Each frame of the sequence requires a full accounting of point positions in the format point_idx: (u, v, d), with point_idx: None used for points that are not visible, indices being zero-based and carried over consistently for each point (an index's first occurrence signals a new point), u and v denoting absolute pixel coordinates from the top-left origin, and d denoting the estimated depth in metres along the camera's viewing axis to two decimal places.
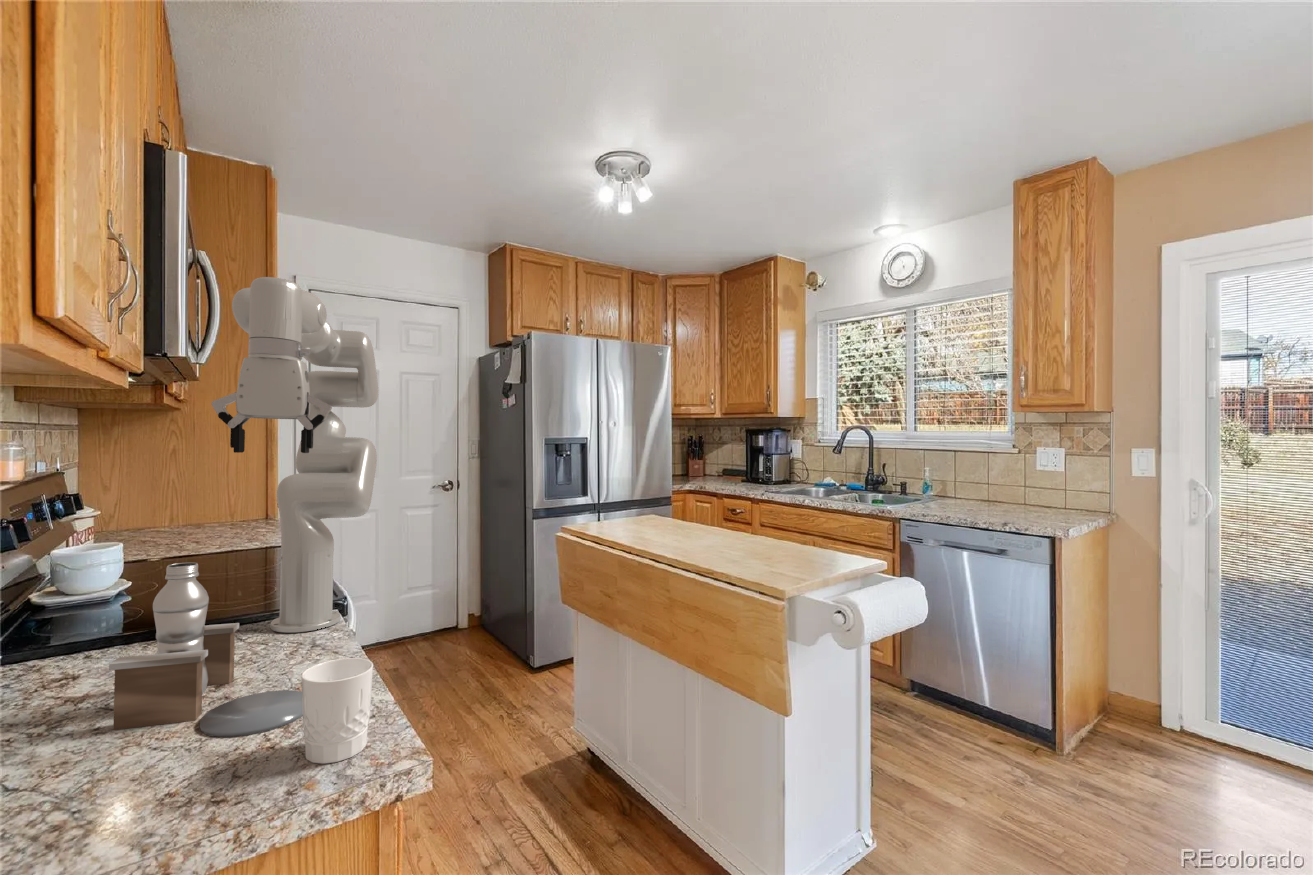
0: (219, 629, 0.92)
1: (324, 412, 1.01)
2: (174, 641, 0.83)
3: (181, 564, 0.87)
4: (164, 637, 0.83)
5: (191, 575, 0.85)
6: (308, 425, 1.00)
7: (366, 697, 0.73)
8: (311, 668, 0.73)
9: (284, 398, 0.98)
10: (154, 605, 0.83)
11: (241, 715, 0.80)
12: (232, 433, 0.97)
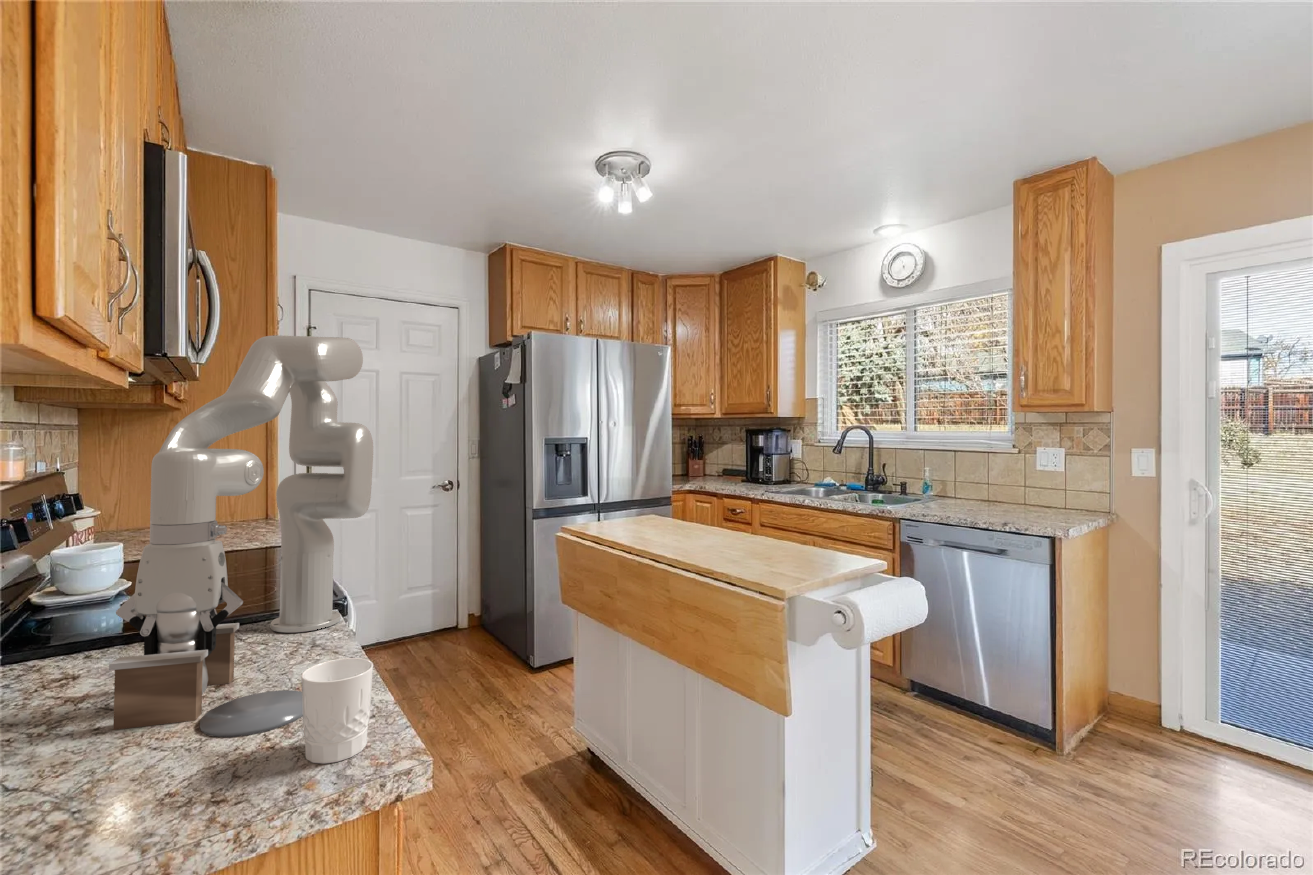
0: (219, 629, 0.92)
1: (230, 609, 0.87)
2: (175, 641, 0.83)
3: None
4: (165, 637, 0.83)
5: None
6: (208, 626, 0.86)
7: (366, 697, 0.73)
8: (311, 668, 0.73)
9: (192, 591, 0.84)
10: None
11: (241, 715, 0.80)
12: (146, 641, 0.84)
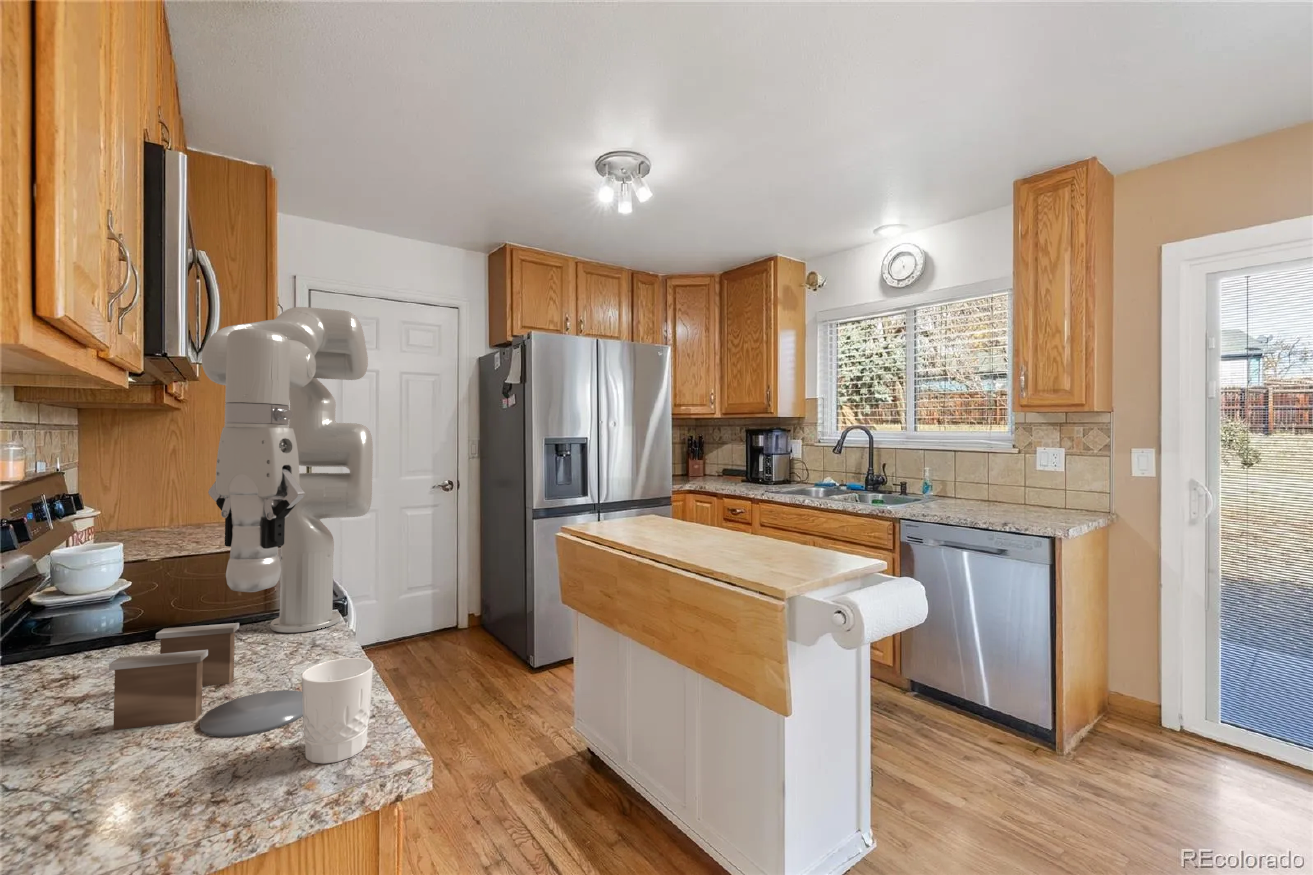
0: (219, 629, 0.92)
1: (290, 499, 0.81)
2: (239, 525, 0.80)
3: None
4: (233, 519, 0.80)
5: None
6: (270, 514, 0.81)
7: (366, 697, 0.73)
8: (311, 668, 0.73)
9: (254, 475, 0.80)
10: None
11: (241, 715, 0.80)
12: None
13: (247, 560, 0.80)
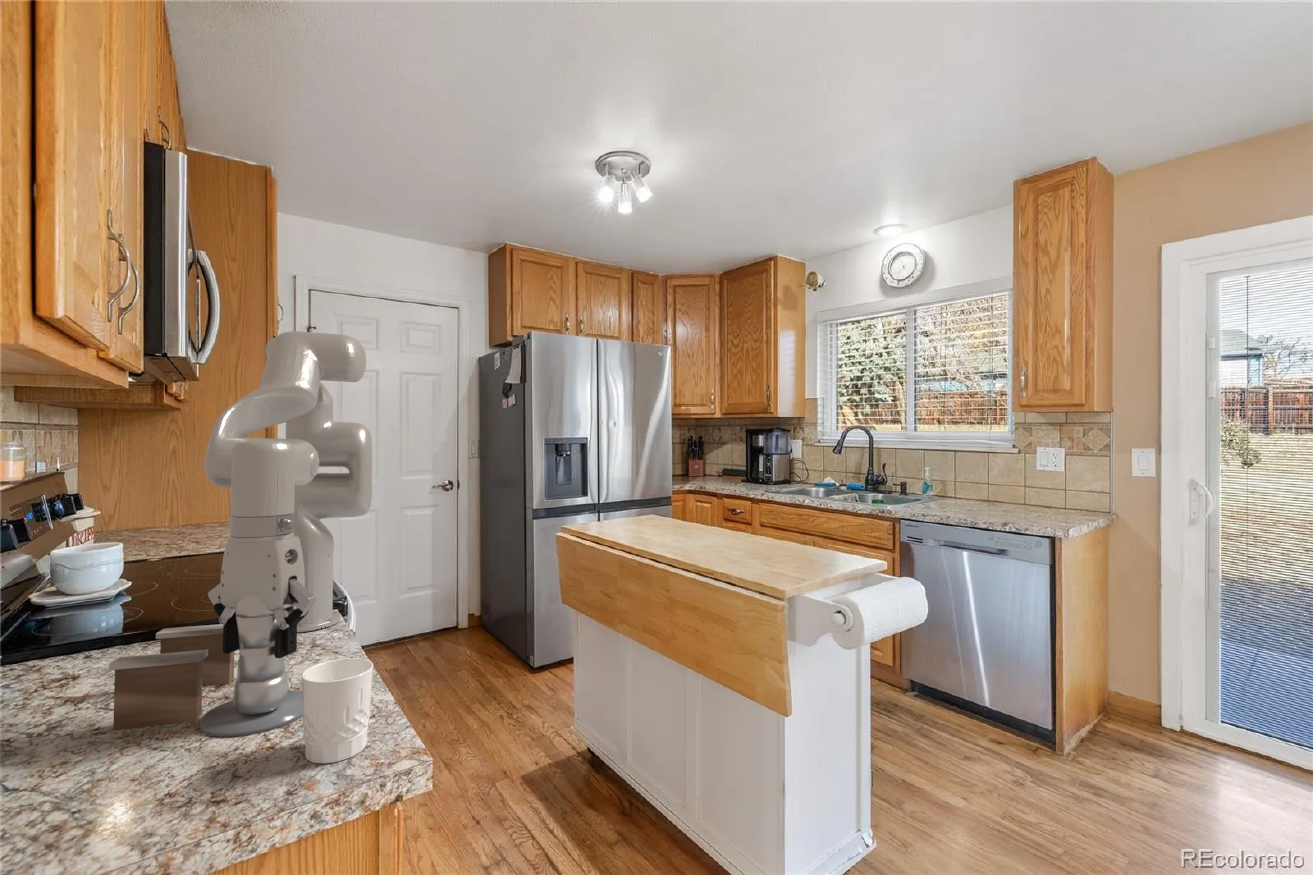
0: (219, 629, 0.92)
1: (302, 607, 0.80)
2: (247, 647, 0.79)
3: None
4: (240, 641, 0.80)
5: None
6: (283, 623, 0.80)
7: (366, 697, 0.73)
8: (311, 668, 0.73)
9: (259, 588, 0.80)
10: None
11: (241, 715, 0.80)
12: None
13: (255, 683, 0.79)
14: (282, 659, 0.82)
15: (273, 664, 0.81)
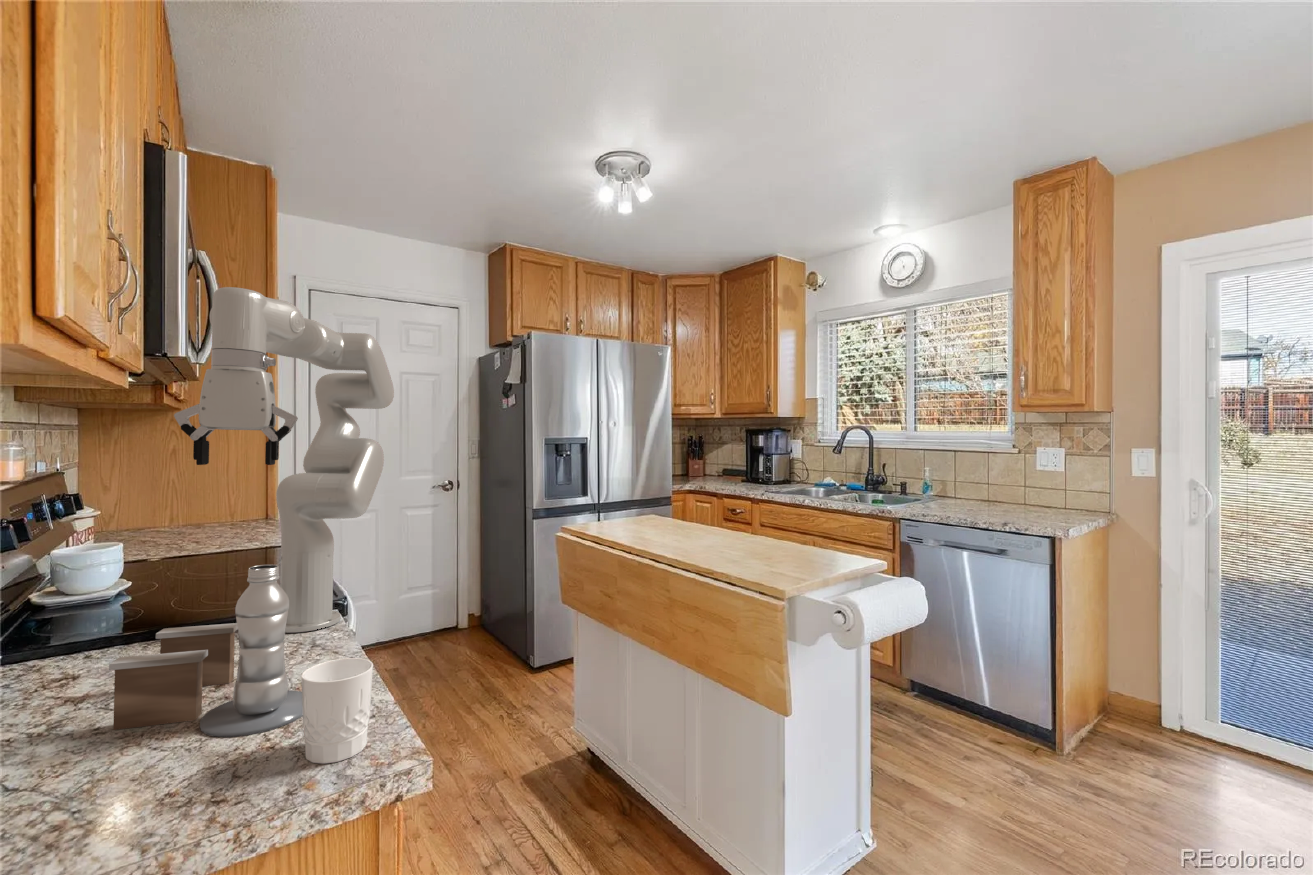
0: (219, 629, 0.92)
1: (289, 423, 1.00)
2: (246, 647, 0.79)
3: (268, 566, 0.84)
4: (240, 641, 0.80)
5: (266, 579, 0.81)
6: (273, 437, 0.99)
7: (366, 697, 0.73)
8: (311, 668, 0.73)
9: (247, 410, 0.97)
10: (235, 607, 0.81)
11: (241, 715, 0.80)
12: (195, 445, 0.96)
13: (255, 683, 0.79)
14: (282, 659, 0.82)
15: (273, 664, 0.81)
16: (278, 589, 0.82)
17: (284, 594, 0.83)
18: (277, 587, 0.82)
